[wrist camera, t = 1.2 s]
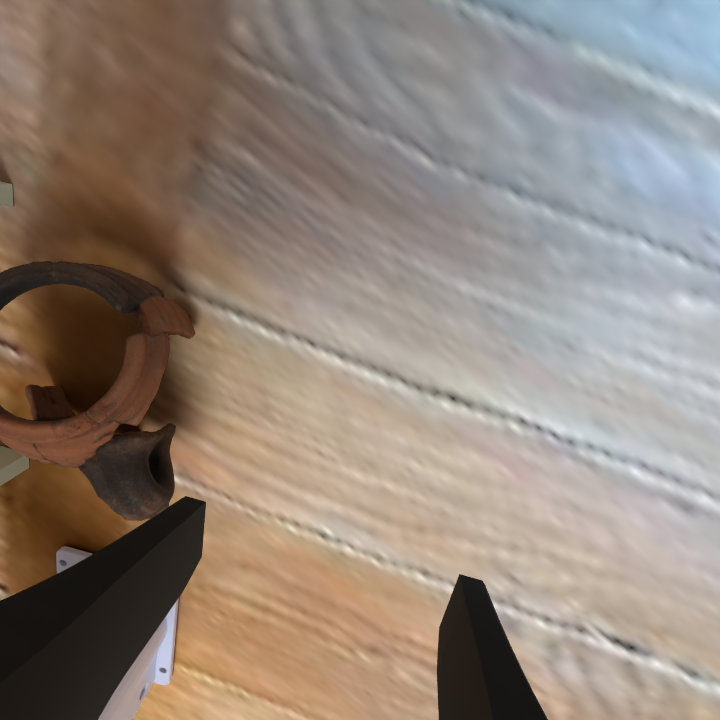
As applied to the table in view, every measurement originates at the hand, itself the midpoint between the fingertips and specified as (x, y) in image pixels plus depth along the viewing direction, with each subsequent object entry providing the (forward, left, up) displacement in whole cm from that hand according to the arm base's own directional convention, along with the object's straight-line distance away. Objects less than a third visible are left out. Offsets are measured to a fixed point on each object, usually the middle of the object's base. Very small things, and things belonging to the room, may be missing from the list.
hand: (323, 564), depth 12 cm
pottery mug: (-1, +12, -11) cm, 16 cm away
